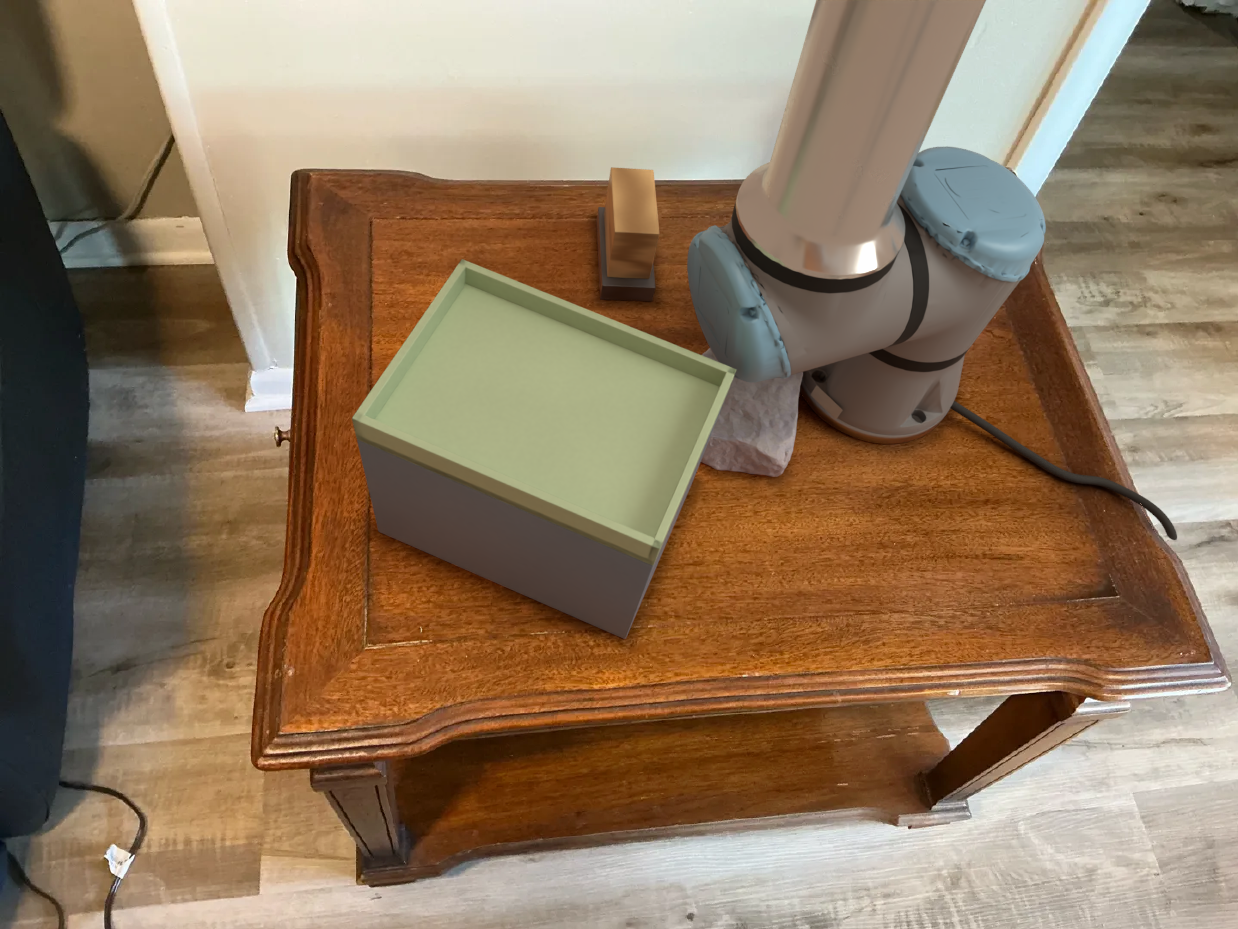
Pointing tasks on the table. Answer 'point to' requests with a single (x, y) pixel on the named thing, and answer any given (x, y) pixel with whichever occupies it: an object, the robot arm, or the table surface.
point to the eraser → (628, 236)
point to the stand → (508, 542)
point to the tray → (548, 409)
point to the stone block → (755, 426)
